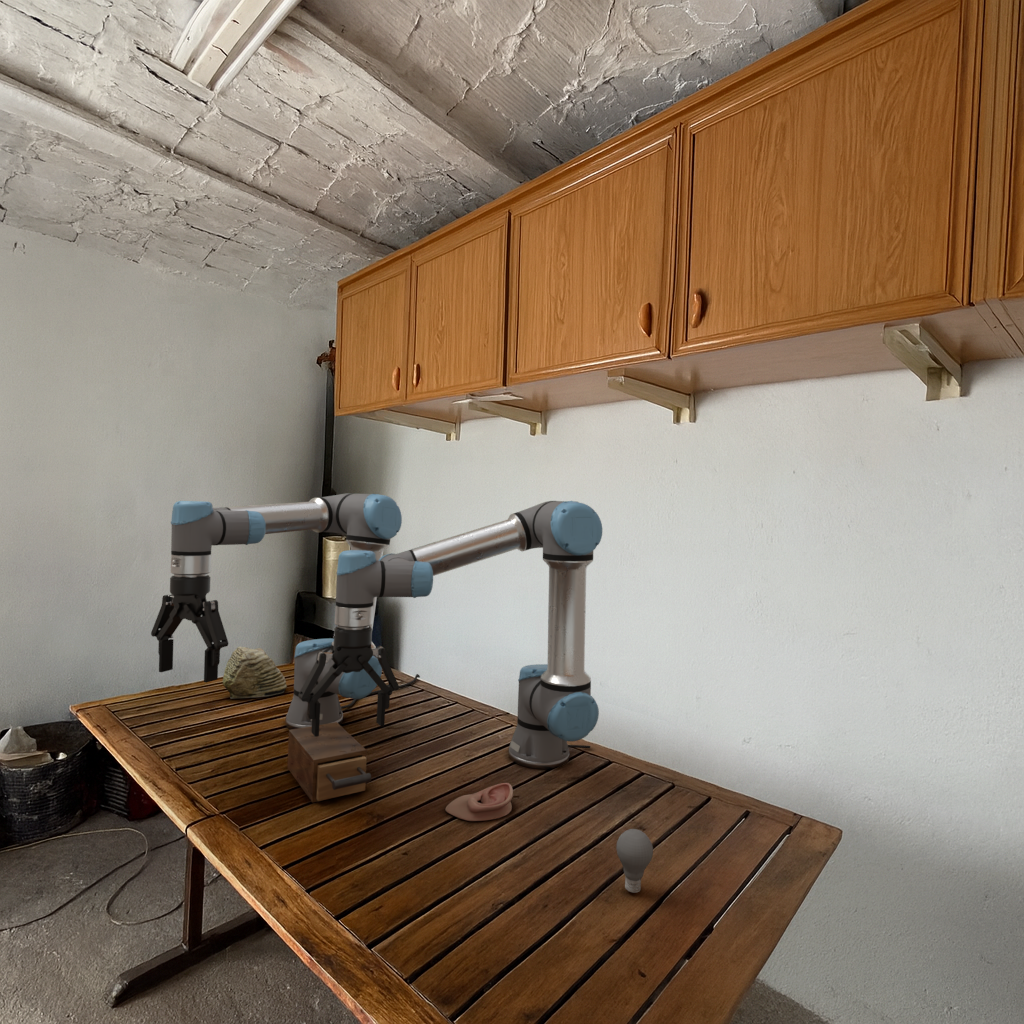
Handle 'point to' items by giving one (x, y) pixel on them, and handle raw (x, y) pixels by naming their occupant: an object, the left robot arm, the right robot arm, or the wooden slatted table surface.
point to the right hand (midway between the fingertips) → (348, 729)
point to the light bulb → (634, 857)
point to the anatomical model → (483, 804)
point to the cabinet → (318, 753)
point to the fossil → (252, 674)
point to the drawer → (341, 777)
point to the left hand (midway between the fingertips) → (187, 675)
